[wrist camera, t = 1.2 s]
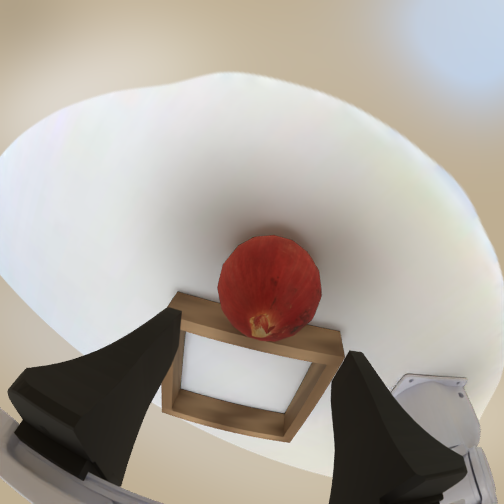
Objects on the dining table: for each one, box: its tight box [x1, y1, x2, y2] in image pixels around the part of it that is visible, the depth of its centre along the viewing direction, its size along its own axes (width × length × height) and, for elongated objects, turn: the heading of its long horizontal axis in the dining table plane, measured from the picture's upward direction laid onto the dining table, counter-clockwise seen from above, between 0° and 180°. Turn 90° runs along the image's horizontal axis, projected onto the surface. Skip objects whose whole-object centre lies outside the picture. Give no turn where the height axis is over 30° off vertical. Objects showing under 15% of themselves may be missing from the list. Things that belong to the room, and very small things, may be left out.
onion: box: [217, 235, 322, 342], centre depth 16 cm, size 6×6×8 cm
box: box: [162, 292, 345, 443], centre depth 23 cm, size 13×13×3 cm
